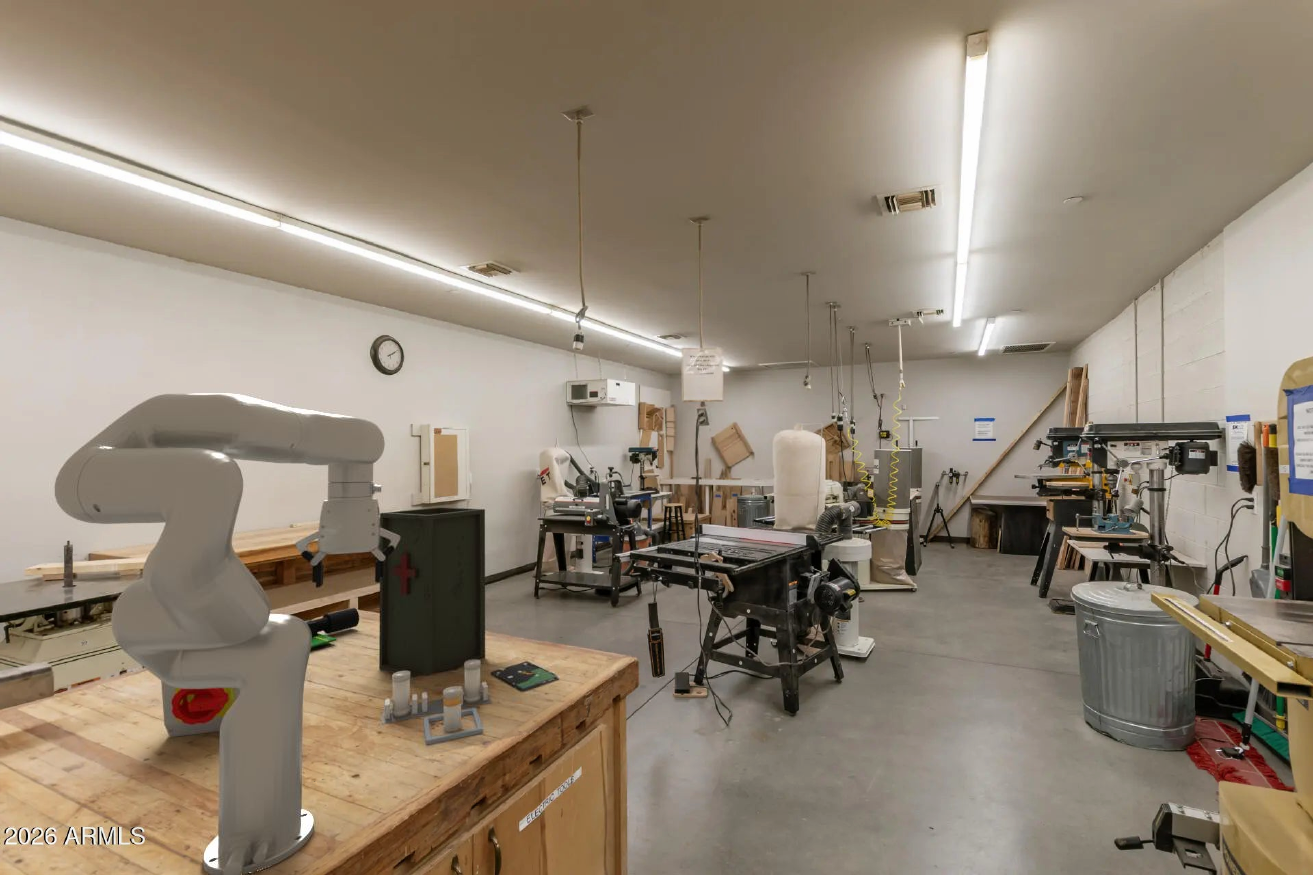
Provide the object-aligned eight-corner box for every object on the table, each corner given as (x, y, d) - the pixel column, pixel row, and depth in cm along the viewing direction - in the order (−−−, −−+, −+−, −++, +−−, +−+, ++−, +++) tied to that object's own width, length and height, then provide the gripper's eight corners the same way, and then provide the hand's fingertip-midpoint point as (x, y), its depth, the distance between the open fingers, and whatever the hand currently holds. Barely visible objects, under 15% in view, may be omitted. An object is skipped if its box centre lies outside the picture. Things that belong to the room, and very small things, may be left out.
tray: (482, 740, 105) (482, 728, 105) (426, 752, 101) (426, 740, 101) (476, 718, 114) (476, 707, 115) (423, 729, 110) (423, 717, 110)
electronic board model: (265, 638, 147) (239, 630, 155) (264, 665, 147) (239, 655, 154) (373, 611, 172) (346, 605, 180) (373, 634, 172) (346, 626, 180)
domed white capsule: (410, 714, 113) (410, 675, 113) (391, 718, 112) (392, 678, 112) (410, 708, 116) (410, 669, 117) (392, 711, 115) (392, 672, 115)
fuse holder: (491, 709, 118) (491, 689, 118) (381, 731, 109) (381, 709, 109) (486, 697, 125) (486, 677, 125) (382, 717, 116) (382, 696, 116)
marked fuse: (460, 725, 110) (460, 684, 110) (462, 733, 107) (462, 691, 107) (442, 729, 109) (442, 688, 109) (443, 737, 106) (443, 694, 106)
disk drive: (489, 683, 134) (522, 700, 124) (489, 671, 134) (522, 688, 124) (526, 671, 141) (560, 686, 131) (526, 660, 141) (560, 674, 131)
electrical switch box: (149, 763, 103) (141, 661, 101) (192, 716, 117) (186, 625, 115) (241, 751, 107) (236, 652, 105) (272, 707, 121) (268, 619, 119)
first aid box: (379, 668, 143) (380, 512, 144) (439, 647, 159) (439, 507, 160) (426, 682, 134) (427, 515, 135) (485, 657, 150) (484, 509, 151)
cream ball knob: (481, 701, 119) (481, 663, 119) (465, 704, 118) (465, 666, 118) (479, 695, 122) (479, 658, 123) (463, 698, 121) (463, 661, 121)
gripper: (401, 490, 112) (400, 576, 111) (301, 492, 105) (299, 584, 104) (400, 491, 105) (399, 583, 104) (292, 494, 98) (290, 592, 97)
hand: (349, 583), depth 104 cm, fingers open, 9 cm apart
